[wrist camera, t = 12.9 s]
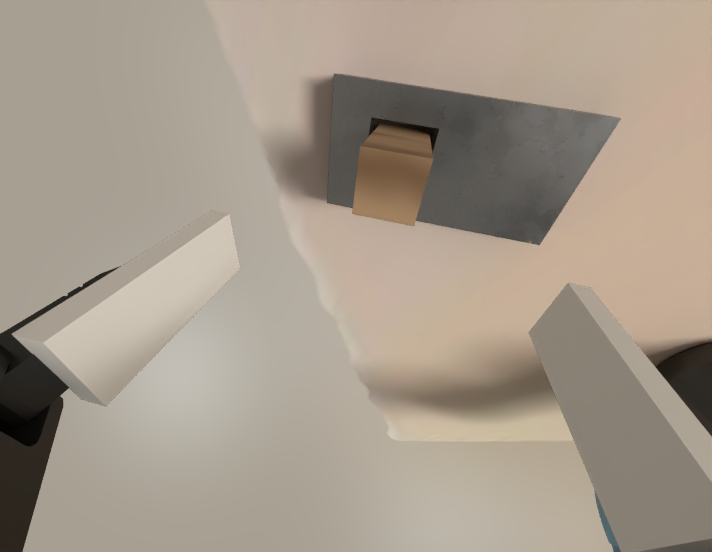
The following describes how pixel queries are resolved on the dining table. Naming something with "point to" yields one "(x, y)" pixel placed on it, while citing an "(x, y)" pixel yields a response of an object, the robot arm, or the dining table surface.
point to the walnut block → (392, 173)
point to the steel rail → (472, 154)
